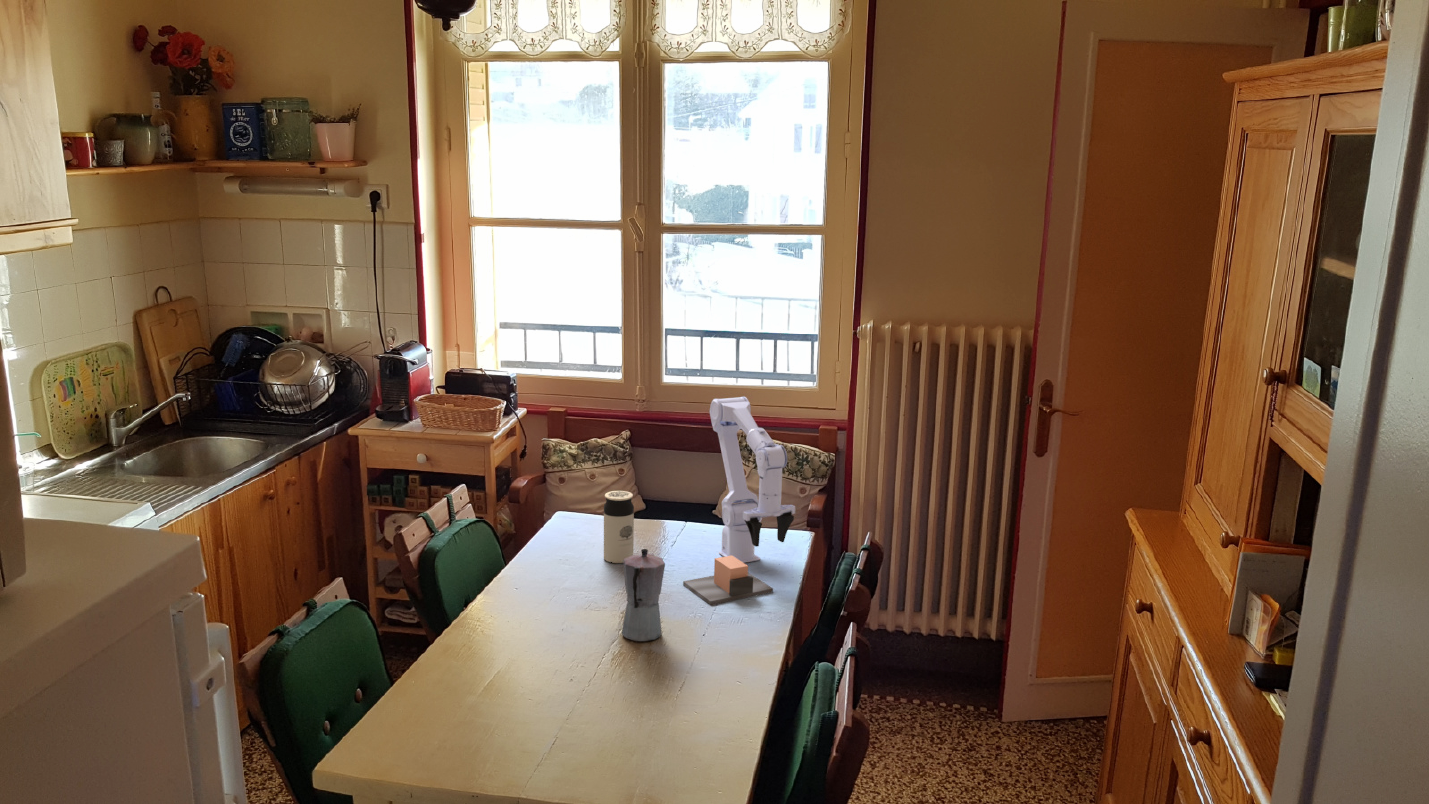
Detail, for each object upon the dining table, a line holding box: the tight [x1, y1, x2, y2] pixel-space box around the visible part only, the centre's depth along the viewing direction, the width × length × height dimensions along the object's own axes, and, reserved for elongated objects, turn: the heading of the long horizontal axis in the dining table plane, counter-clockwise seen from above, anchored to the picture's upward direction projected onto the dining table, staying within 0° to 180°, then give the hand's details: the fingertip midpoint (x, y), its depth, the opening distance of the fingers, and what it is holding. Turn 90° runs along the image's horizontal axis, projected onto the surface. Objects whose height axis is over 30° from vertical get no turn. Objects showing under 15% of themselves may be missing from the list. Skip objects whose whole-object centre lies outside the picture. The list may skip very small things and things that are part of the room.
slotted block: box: [713, 555, 749, 593], centre depth 261 cm, size 8×5×6 cm, turn 29°
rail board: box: [682, 572, 774, 606], centre depth 262 cm, size 14×18×5 cm
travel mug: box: [603, 490, 635, 564], centre depth 279 cm, size 8×8×18 cm
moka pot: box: [621, 548, 666, 642], centre depth 233 cm, size 10×15×20 cm, turn 174°
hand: (768, 543), depth 269 cm, fingers open, 7 cm apart
